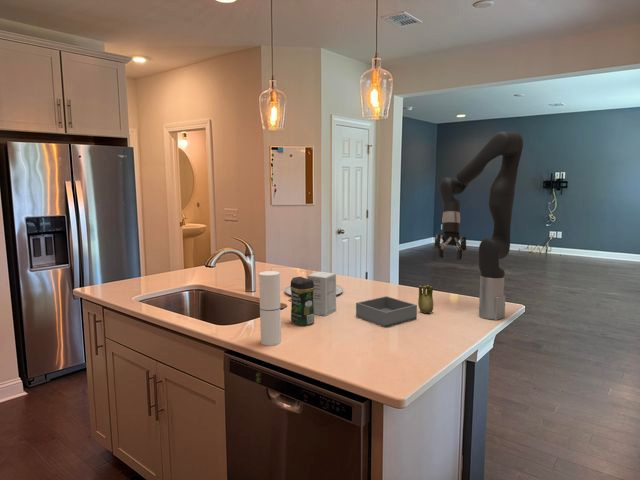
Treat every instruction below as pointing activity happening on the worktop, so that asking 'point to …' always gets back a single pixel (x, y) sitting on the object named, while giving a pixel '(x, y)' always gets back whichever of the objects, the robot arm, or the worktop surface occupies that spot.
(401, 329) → the worktop surface
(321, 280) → the supplement box
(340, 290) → the plated food
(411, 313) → the bin
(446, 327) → the worktop surface
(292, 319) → the coffee jar
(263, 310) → the cylindrical container
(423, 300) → the fennel bulb
